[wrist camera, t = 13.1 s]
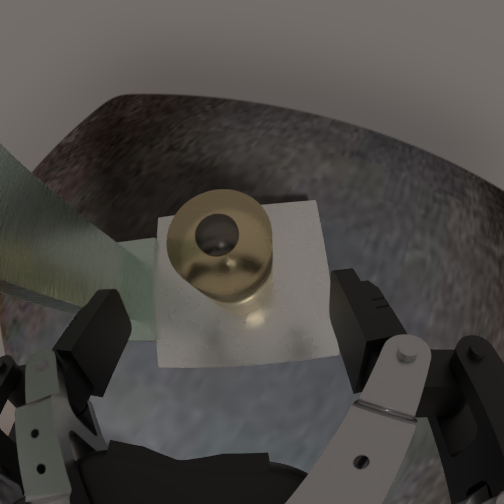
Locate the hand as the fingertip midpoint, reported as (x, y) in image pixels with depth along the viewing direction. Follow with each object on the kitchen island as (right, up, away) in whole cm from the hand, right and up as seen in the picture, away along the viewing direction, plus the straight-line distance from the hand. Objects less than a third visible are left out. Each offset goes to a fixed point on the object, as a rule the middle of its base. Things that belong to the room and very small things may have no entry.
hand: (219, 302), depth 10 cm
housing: (0, 0, +10) cm, 10 cm away
